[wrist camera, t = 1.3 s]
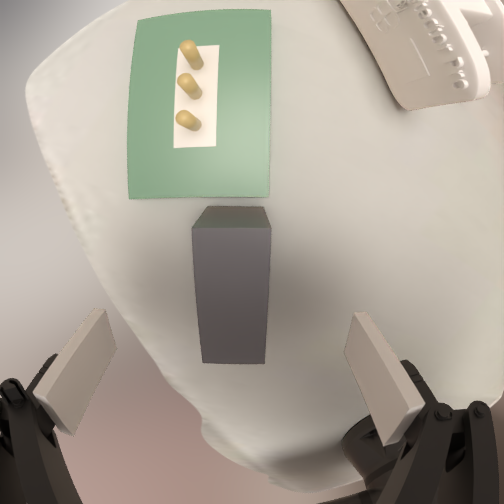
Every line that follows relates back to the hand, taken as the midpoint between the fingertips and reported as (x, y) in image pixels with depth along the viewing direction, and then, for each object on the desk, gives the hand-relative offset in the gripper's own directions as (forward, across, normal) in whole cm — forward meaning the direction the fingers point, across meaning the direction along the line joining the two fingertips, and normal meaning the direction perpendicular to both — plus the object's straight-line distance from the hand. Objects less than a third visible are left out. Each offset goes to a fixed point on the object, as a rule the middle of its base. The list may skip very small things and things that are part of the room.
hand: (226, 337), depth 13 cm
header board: (+11, +3, -14) cm, 18 cm away
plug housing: (+11, 0, 0) cm, 11 cm away
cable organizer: (+11, -15, -22) cm, 29 cm away
